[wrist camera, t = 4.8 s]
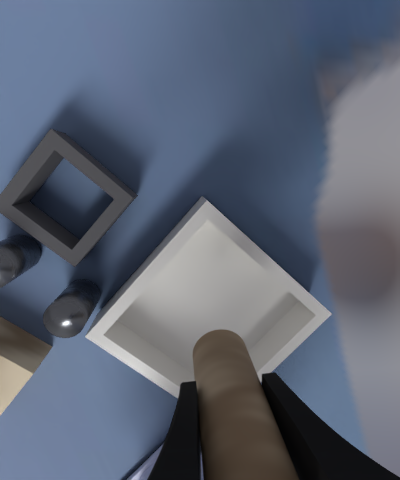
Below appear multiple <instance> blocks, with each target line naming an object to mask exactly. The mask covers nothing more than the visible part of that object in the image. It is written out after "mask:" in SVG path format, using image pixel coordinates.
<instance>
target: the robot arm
mask: <svg viewBox="0 0 400 480" xmlns="http://www.w3.org/2000/svg"><path fill="white" fill-rule="evenodd" d="M262 388H263V390H264V393H265V395H266V398H267V400H268V403H269V405H270V408H271V410H272V413H273V415H274V418H275V420H276V423H277V425H278V428H279V430H280V433H281V435H282V438H283V440H284V443H285V445H286V448H287V450H288V453H289V455H290V458H291V460H292V463H293V465H294V468H295V470H296V473H297V475H298V478H299V480H400V477H398V476H396V475H395V474H393V473H392V472H390V471H388V470H387V469H386V468H384V467H382V466H381V465H380V464H378V463H377V462H375V461H374V460H372V459H371V458H369V457H368V456H366V455H365V454H363V453H362V452H361V451H359V450H358V449H357V448H355V447H354V446H353V445H351V444H350V443H349V442H347V441H346V440H345V439H344V438H342V437H341V436H340V435H339V434H337V433H336V432H335V431H334V430H333V429H332V428H330V427H329V426H328V425H327V424H326V423H325V422H324V421H323V420H321V419H320V418H319V417H318V416H317V415H316V414H315V413H314V412H313V411H312V410H311V409H310V408H309V407H308V406H307V405H306V404H305V403H304V402H303V401H302V400H301V399H300V398H299V397H298V396H297V395H296V394H295V393H294V392H293V391H292V390H291V389H290V388H289V387H288V386H287V385H286V384H285V383H284V381H283V380H282V379H281V378H280V377H279V376H278V375H277V374H276V373H275V372H274V373H265V374H262ZM127 480H204V477H203V466H202V455H201V444H200V433H199V410H198V394H197V385H196V381H190V382H182V383H181V384H180V391H179V397H178V401H177V405H176V409H175V412H174V416H173V419H172V422H171V425H170V428H169V431H168V433H167V436H166V439H165V441H164V443H163V444H162V445H161V446H160V447H159V448H158V449H157V450H156V451H155V452H154V453H153V454H152V455H151V456H150V457H149V458H148V459H147V460H146V461H145V462H144V463H143V464H142V465H141V466H140V467H139V468H138V469H137V470H136V471H135V472H134V473H133V474H132V475H131V476H130V477H129V478H128V479H127Z"/></svg>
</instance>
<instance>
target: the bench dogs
mask: <svg viewBox="0 0 400 480" xmlns="http://www.w3.org/2000/svg"><path fill="white" fill-rule="evenodd" d="M40 256H41V252H40V248H39V246H38V244H37V243H36V242H35V241H34V240H33V239H31V238H30V237H27V236H24V235H16V236H13V237H10V238H8V239H5V240H2V241H0V288H1V287H3V286H5V285H6V284H8V283H9V282H11V281H12V280H14V279H15V278H17V277H18V276H20V275H21V274H23V273H24V272H26V271H27V270H29V269H30V268H32V267H33V266H35V265H36V264H37V263H38V261H39V259H40ZM99 299H100V292H99V289H98V288H97V286H96V285H95V284H94V283H92V282H90V281H88V280H76V281H74V282H72V283H71V284H70V285H69V286H68V287H67V288H66V289H65V290H64V291H63V292H62V293H61V294H60V295H59V296H58V297H57V299H56V300H55V301H54V302H53V303H52V304H51V305H50V306H49V307H48V308H47V309H46V311H45V313H44V315H43V322H44V325H45V327H46V329H47V330H48V331H49V332H50V333H51V334H53V335H55V336H57V337H61V338H69V337H73V336H75V335H77V334H78V333H80V332H81V330H82V329H83V327H84V326H85V324H86V322H87V320H88V319H89V317H90V315H91V314H92V312H93V310H94V309H95V307H96V305H97V304H98V302H99Z"/></svg>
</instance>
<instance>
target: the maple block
mask: <svg viewBox="0 0 400 480" xmlns="http://www.w3.org/2000/svg"><path fill="white" fill-rule="evenodd" d="M51 348H52V346H50V345H49V344H47V343H45V342H43V341H42V340H40V339H38V338H37V337H35V336H33V335H31V334H30V333H28V332H26V331H25V330H23V329H21V328H19V327H18V326H16V325H14V324H12V323H11V322H9V321H7V320H6V319H4V318H2V317H0V415H1V414H2V413H3V411H4V410H5V409H6V408H7V406H8V405H9V404H10V403H11V401H12V400H13V399H14V398H15V396H16V395H17V394H18V392H19V391H20V390H21V389H22V387H23V386H24V385H25V384H26V382H27V381H28V380H29V379H30V377H31V376H32V375H33V374H34V372H35V371H36V369H37V368H38V367H39V365H40V364H41V362H42V361H43V359H44V358H45V357H46V355H47V354H48V352H49V351H50V350H51Z"/></svg>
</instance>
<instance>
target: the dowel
mask: <svg viewBox="0 0 400 480" xmlns="http://www.w3.org/2000/svg"><path fill="white" fill-rule="evenodd" d="M193 367H194V378H195V381H196V385H197V394H198V410H199V433H200V444H201V455H202V466H203V477H204V480H299V478H298V475H297V473H296V470H295V468H294V465H293V463H292V460H291V458H290V455H289V453H288V450H287V448H286V445H285V443H284V440H283V438H282V435H281V433H280V430H279V428H278V425H277V423H276V420H275V418H274V415H273V413H272V410H271V408H270V405H269V403H268V400H267V398H266V395H265V393H264V390H263V388H262V385H261V383H260V380H259V378H258V375H257V373H256V370H255V368H254V365H253V363H252V360H251V358H250V355H249V353H248V350H247V348H246V345H245V343H244V341H243V339H242V338H241V337H240V336H239V335H238V334H236V333H235V332H233V331H230V330H224V329H219V330H213V331H210V332H208V333H206V334H204V335H203V336H202V337H201V338H200V339H199V340H198V341H197V342H196V344H195V346H194V349H193Z"/></svg>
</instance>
